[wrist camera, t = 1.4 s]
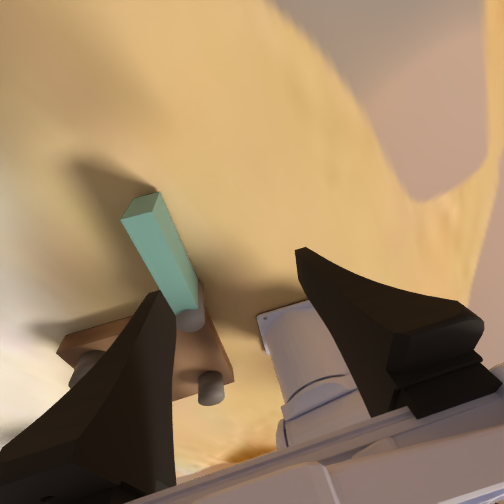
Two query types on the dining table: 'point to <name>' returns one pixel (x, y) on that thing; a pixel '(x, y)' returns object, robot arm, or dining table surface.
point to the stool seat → (185, 361)
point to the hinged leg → (166, 259)
